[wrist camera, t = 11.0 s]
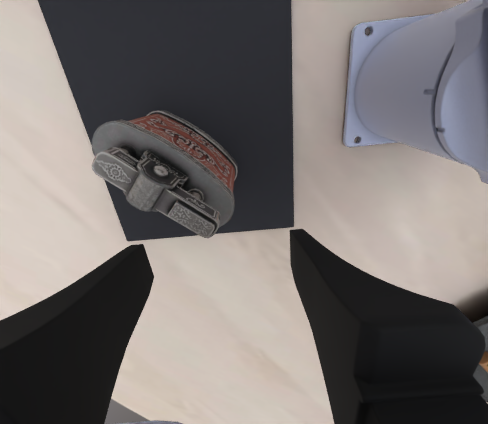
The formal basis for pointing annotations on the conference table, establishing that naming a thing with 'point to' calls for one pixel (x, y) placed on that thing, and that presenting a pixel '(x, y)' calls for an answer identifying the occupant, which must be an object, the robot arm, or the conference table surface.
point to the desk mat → (189, 89)
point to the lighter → (168, 169)
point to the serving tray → (483, 359)
